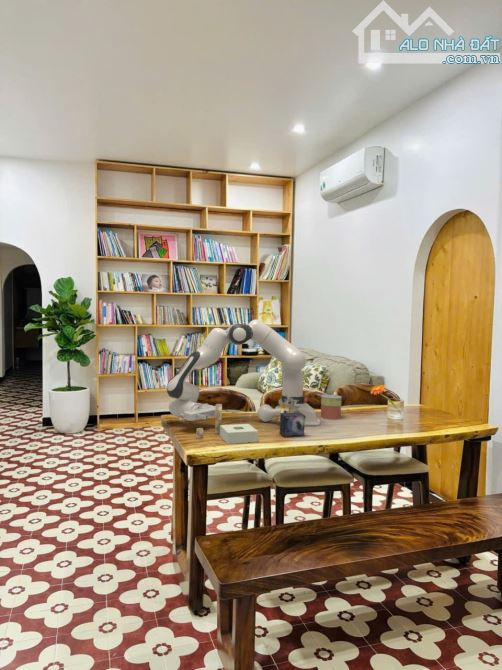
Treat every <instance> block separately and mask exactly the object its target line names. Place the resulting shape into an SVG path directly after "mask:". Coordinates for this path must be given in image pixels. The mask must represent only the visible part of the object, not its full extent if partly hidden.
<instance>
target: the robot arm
mask: <svg viewBox="0 0 502 670" xmlns="http://www.w3.org/2000/svg"><path fill="white" fill-rule="evenodd" d="M249 340H251V341H253V342H254V343H256V344H257V345H258V346H260V347H261V348H262V349H264V351H266V352H267V353H269V355H270V356H272V357H273V358H275V359H276V360H277V361H279V363H280V364H281V378H282V379H281V380H282V382H281V383H282V384H281V389H282V390H281V394H280V400H282V402H283V403H284V402H285V401H288V400H287V397H286V395H287V396H288V397H289V398H290V397H291V398H293V400H294V401H295V400H296V401H297V403H296V405H297V404H300V405H301V406H300V408H297V409H298V410H299V412H301V413H302V414H304V415H305V424H304V426H321V419H319V418H317V417H318V416H317V412H316V410H315V409H314V408H313V407H312V406H310V405H309V404H308V403H307V402H308V398H307V397H306V396H305V395H304V393H303V392H304V380H303V369H304V368H305V366H306V364H307V358H306V355H305V353H304V352H303V351H301V349H299V348H297V347H296V346H295V345H294V344H292V343H291V342H289V341H288V340H287V339H286V338H284V337H283V336H282V335H280V334H279V333H278V332H277V331H276V330H274V329H273V328H272V327H271V326H269V325H268V324H266V323H265V322H263V321H261V320H259V319H253V320H251V321H249V323H248V324H243V323H234V324H231V325H230V326H228V327H227V328H225V329H224V328H220V327H213V328H212V329H211V331H210V332H209V333H208V334H207V336H206V337H205V339H204V341H203V342H202V344H201V345H200V347H199V348H198V349H197V350H196V351H192V353H191V354H190V355H189V356H188V357H187V358H186V360H185V361H184V362H183V364H182V365H181V367H180V368H179V369H178V370H177V372H176V374H175V375H174V376H173V377H172V378H171V379H170V380H168V383H167V384H166V393H167V394H168V395H167V396H169V397H170V398H173V399H172V400H170V402H169V404H168V410H169V412H170V414H171V415H173V416H175V417H178V418H182V419H183V420H186V421H189V422H196V421H199V420H208V418H212V417H215V412H216V405H211V404H209V403H206V402H200V403H199V402H198V400H199V397H200V388H199V387H198V386H197V385H195V384H193V383H191V382H188V381H187V379H188V377H189V376H190V375H191V373H192V371H194V370H195V368H196V367H199V366H207V365H213V364H214V363H216V362H217V361H219V359H220V358H221V355H222V353H223V351H224V349H225V348H226V347H227V346H228V345H229V344H230V345H235V346H240V345H244V344H245V343H247V342H248V341H249ZM285 394H286V395H285ZM288 404H289V405H290V404H291V402H289V403H288ZM293 404H294V402H293ZM292 412H294V411H292ZM279 418H280V415H279V416H278V419H277V421H278V423H280V419H279Z"/></svg>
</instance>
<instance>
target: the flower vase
mask: <svg viewBox="0 0 502 670" xmlns="http://www.w3.org/2000/svg"><path fill="white" fill-rule="evenodd" d="M285 395H286V394H285ZM286 397H287V400H288V401H285V402H284V403H283V402H282V400H281V399H278V405H277V406H275V408H273V407H272V406H270V405H269V404H266V403H265V404H262V405H260V407H259V408H258V409H257V413H256V414H257V417H258V418H259V419H260V421H262V422H264V423H266V422H270V421H271V420H272V419H273V417H274V416H278V415H280V413H293V412H292V411H294V412H299V410H298V409H297V408H300V406H301V405H300V404H297V405H296V403H297V401H296V400H295V401H294V400H293V398H291V397H290V398H289V397H288V396H287V395H286ZM289 402H291V404H290V405H289V404H288V403H289ZM293 402H294V404H293ZM278 419H280V418H279V417H278Z"/></svg>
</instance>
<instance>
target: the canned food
mask: <svg viewBox="0 0 502 670" xmlns="http://www.w3.org/2000/svg"><path fill="white" fill-rule="evenodd" d="M320 398H321V399H320V401H321V402H320V403H321V405H320V418H321V419H323V420H326V421H327V420H328V421H337V420H338V419H339V420H341V418H342V398H343V397H342V396H341V395H337V394H322V395H321V397H320Z"/></svg>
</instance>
